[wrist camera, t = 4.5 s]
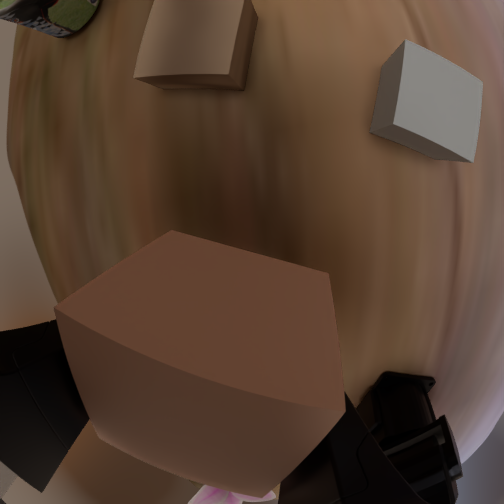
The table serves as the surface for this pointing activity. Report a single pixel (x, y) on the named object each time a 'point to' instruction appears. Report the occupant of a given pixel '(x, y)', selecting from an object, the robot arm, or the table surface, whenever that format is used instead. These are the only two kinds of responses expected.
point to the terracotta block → (207, 361)
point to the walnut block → (197, 44)
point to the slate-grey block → (428, 104)
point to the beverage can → (49, 14)
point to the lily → (225, 497)
